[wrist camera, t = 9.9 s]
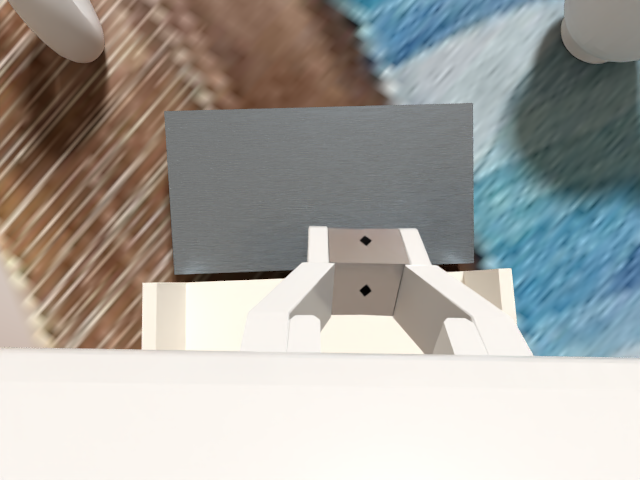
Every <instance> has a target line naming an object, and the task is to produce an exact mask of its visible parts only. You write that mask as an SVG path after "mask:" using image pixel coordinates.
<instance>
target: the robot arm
mask: <svg viewBox="0 0 640 480" xmlns="http://www.w3.org/2000/svg"><path fill="white" fill-rule="evenodd" d="M331 315H377V316H393V318H394V319H395V321H396V322H397V323H398V324H399V325H400V326H401V327H402V329H403V330H404V331H405V332H406V333H407V334H408V335H409V337H410V338H411V339H412V340H413V341H414V342H415V344H416V345H417V346H418V347H419V348H420V349H421V350H422V352H423V353H424V354H385V353H321V337H320V332H321V331H322V329H323V328H324V327H325V325H326V324H327V322H328V321H329V319H330V318H331ZM0 480H640V358H631V357H558V356H533V354H532V352H531V350H530V349H529V347H528V345H527V343H526V341H525V340H524V338H523V336H522V334H521V332H520V331H519V329H518V327H517V325H516V324H515V322H514V320H513V318H512V317H510V316H509V315H507V314H506V313H504V312H503V311H502V310H500V309H499V308H497V307H496V306H494V305H493V304H492V303H490V302H489V301H487V300H486V299H484V298H483V297H482V296H480V295H479V294H477V293H476V292H474V291H473V290H472V289H470V288H469V287H467V286H466V285H464V284H463V283H462V282H460V281H459V280H457V279H456V278H454V277H453V276H452V275H450V274H449V273H447V272H446V271H444V270H443V269H442V268H440V267H439V266H437V265H432V264H431V262H430V259H429V257H428V254H427V252H426V249H425V247H424V244H423V242H422V239H421V237H420V234H419V232H418V230H417V229H416V228H398V229H369V228H352V227H330V226H328V227H327V226H309V228H308V255H307V262H302V263H301V264H300V265H299V266H298V267H296V268H295V269H294V270H293V271H292V272H291V273H290V274H289V275H288V276H287V277H286V278H285V279H284V280H282V281H281V282H280V283H279V284H278V285H277V286H276V287H275V288H274V289H273V290H272V291H271V292H269V293H268V294H267V295H266V296H265V297H264V298H263V299H262V300H261V301H260V302H259V303H258V304H256V305H255V306H254V307H253V308H252V309H251V310H250V311H249V312H248V314H247V319H246V323H245V328H244V333H243V337H242V342H241V347H240V351H197V350H135V349H76V348H17V347H16V348H15V347H0Z"/></svg>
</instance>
